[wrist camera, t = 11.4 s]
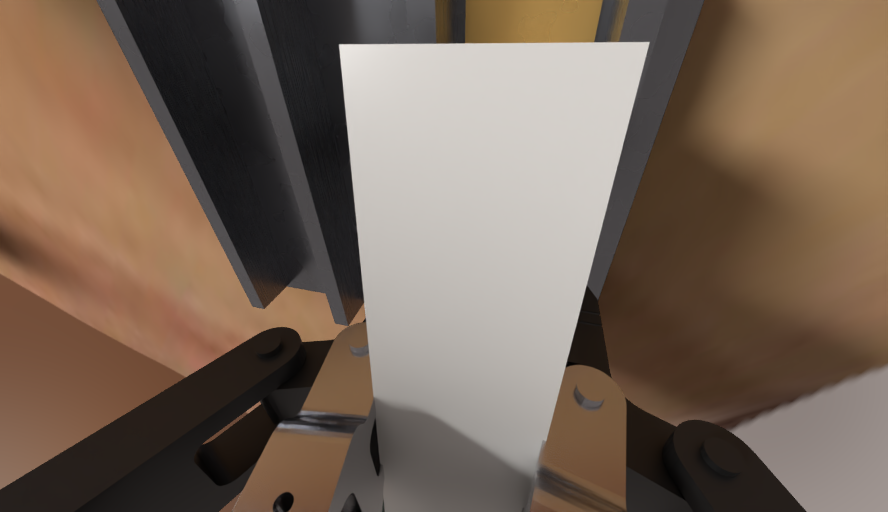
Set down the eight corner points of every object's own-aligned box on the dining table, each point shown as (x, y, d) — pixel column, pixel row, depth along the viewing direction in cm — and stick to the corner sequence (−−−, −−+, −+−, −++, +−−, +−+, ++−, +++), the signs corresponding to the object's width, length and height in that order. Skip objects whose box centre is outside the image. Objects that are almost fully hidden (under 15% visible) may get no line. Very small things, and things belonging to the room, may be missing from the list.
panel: (478, 82, 11) (339, 44, 3) (569, 84, 11) (650, 41, 3) (461, 348, 17) (390, 570, 9) (520, 360, 16) (501, 612, 8)
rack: (138, -49, 13) (26, -67, 10) (727, -106, 8) (814, -167, 6) (273, 272, 22) (234, 308, 19) (582, 326, 18) (588, 381, 15)
